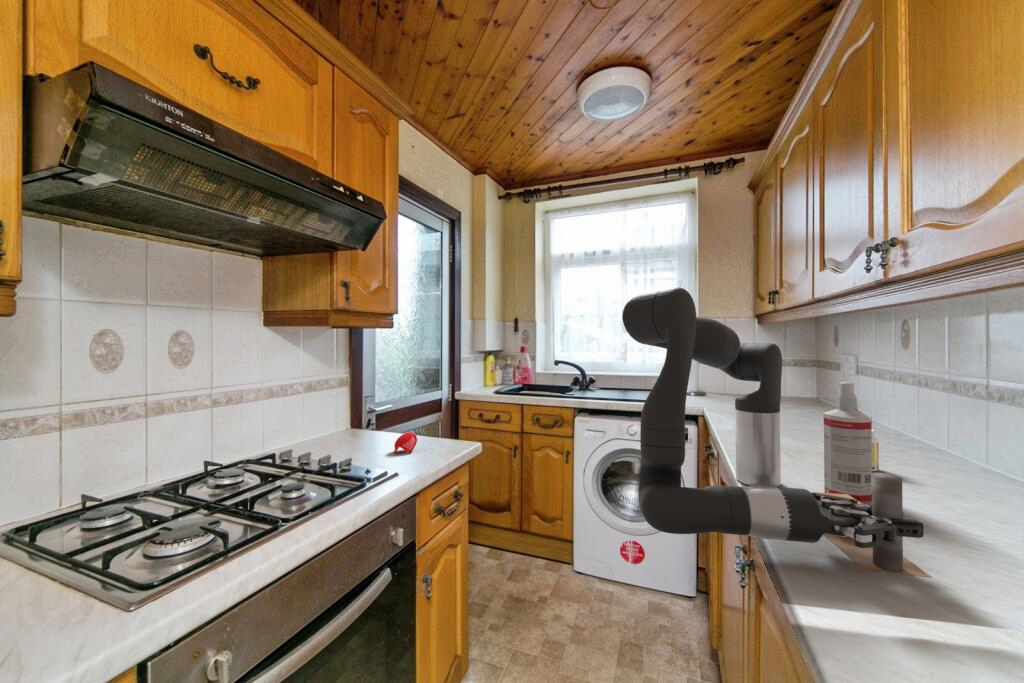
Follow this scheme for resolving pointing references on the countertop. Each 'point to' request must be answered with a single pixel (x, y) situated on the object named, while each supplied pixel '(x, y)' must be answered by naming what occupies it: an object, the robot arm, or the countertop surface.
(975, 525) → the countertop surface
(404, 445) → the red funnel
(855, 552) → the pull strip
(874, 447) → the supplement bottle
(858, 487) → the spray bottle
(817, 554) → the countertop surface
